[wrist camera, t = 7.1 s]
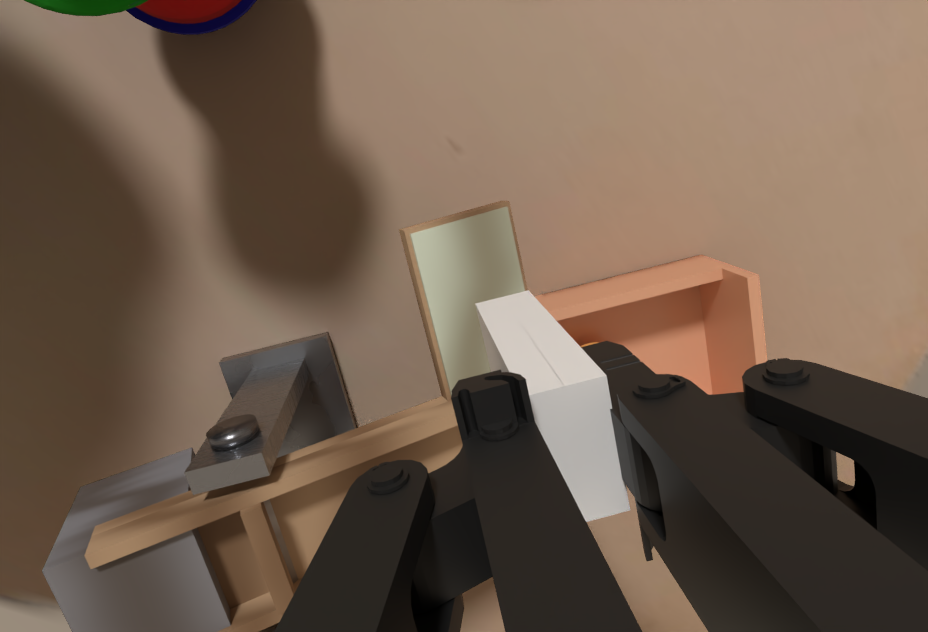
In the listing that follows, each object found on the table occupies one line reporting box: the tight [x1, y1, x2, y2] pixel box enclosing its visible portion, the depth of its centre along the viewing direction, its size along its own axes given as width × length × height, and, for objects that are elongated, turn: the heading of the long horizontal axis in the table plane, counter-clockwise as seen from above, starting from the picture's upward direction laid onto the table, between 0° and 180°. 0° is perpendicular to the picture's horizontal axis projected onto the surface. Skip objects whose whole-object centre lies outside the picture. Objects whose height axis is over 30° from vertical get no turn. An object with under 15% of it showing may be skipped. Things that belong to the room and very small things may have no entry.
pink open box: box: [534, 255, 767, 395], centre depth 34 cm, size 10×9×6 cm
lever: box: [42, 201, 528, 632], centre depth 28 cm, size 22×14×8 cm, turn 104°
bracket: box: [184, 332, 357, 632], centre depth 31 cm, size 6×11×12 cm, turn 13°
